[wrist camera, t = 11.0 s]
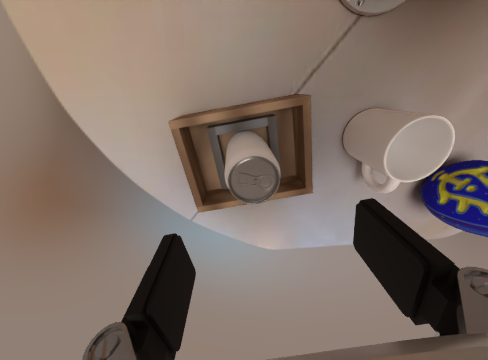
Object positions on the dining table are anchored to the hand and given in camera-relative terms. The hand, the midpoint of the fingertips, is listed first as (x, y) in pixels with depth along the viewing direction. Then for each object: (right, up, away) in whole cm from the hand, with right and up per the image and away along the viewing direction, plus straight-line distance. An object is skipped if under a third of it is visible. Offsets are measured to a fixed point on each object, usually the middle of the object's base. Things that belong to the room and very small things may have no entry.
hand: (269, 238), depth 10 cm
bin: (-1, +8, +22) cm, 24 cm away
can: (-1, +8, +21) cm, 23 cm away
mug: (+19, +9, +23) cm, 31 cm away
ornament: (+35, +3, +27) cm, 45 cm away
